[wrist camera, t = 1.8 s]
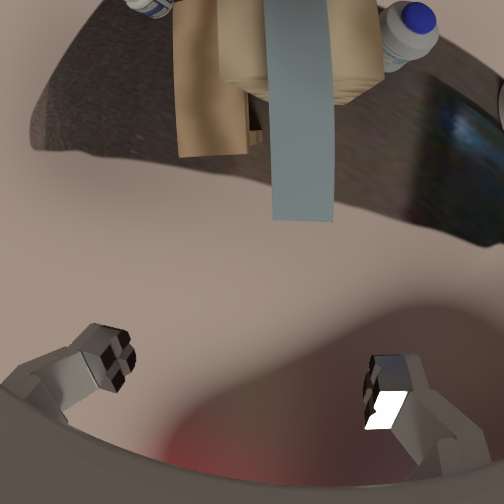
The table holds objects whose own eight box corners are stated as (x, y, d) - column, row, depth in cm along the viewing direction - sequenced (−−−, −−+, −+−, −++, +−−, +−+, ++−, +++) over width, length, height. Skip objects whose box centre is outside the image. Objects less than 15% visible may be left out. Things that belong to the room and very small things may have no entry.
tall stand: (339, 21, 33) (359, -72, 10) (344, 104, 39) (384, 79, 16) (266, 21, 36) (215, -67, 12) (271, 103, 41) (219, 79, 18)
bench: (260, 25, 36) (239, -10, 23) (266, 145, 44) (246, 153, 31) (210, 31, 38) (173, 3, 25) (215, 147, 46) (179, 157, 33)
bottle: (351, 45, 35) (375, -6, 17) (386, 31, 32) (428, -20, 14) (374, 82, 37) (416, 54, 19) (409, 67, 34) (467, 37, 16)
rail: (320, -75, 11) (319, -111, 6) (340, 206, 20) (348, 231, 15) (254, -73, 12) (239, -107, 7) (268, 204, 21) (255, 228, 16)
